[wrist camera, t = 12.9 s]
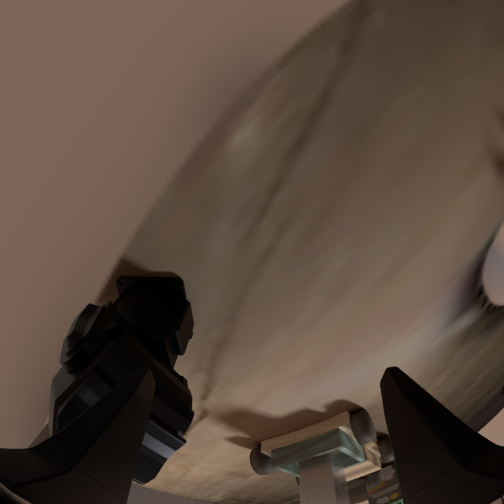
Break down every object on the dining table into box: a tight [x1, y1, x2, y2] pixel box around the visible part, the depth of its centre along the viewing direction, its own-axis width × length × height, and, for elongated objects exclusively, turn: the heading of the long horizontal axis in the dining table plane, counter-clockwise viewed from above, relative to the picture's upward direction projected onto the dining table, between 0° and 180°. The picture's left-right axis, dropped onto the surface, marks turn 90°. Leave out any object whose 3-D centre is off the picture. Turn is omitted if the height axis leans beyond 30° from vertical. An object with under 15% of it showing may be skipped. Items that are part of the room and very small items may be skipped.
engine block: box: [298, 449, 350, 504], centre depth 26 cm, size 5×5×11 cm
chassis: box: [250, 409, 395, 486], centre depth 32 cm, size 20×18×5 cm
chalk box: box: [364, 462, 403, 504], centre depth 37 cm, size 9×9×15 cm
